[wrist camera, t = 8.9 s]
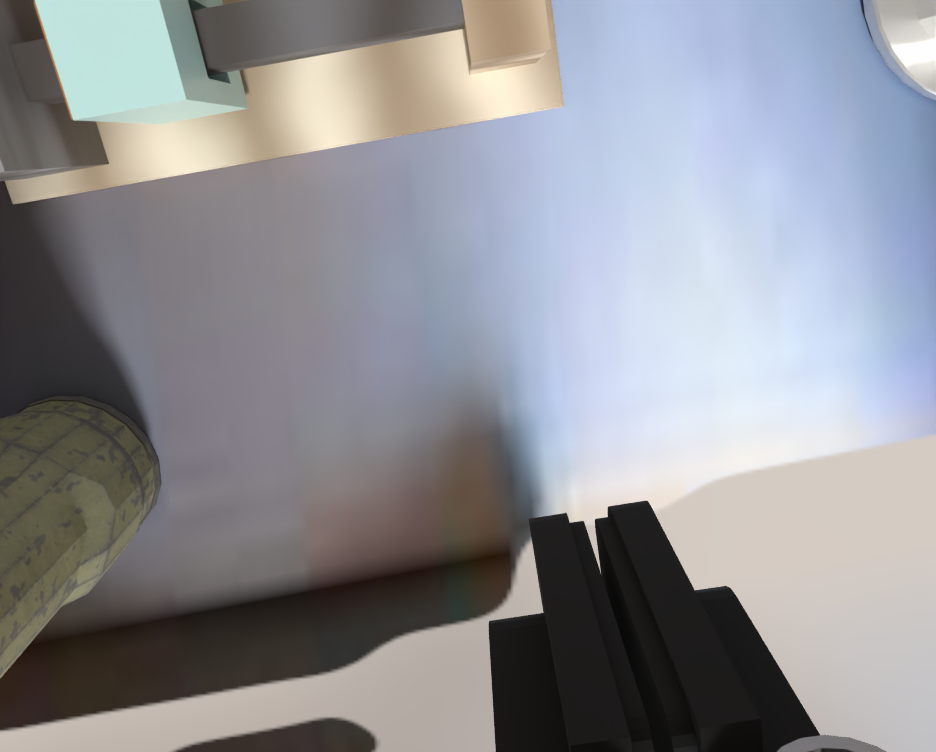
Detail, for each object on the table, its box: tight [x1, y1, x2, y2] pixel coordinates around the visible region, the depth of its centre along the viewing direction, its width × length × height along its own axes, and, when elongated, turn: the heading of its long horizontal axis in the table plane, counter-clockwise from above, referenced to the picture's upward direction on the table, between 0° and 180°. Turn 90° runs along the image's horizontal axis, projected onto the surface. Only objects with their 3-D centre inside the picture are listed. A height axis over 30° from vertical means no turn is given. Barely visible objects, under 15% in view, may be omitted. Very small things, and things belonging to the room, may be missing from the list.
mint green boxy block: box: [35, 0, 249, 124], centre depth 27 cm, size 4×5×8 cm
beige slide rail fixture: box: [0, 0, 564, 204], centre depth 28 cm, size 26×9×9 cm, turn 100°
